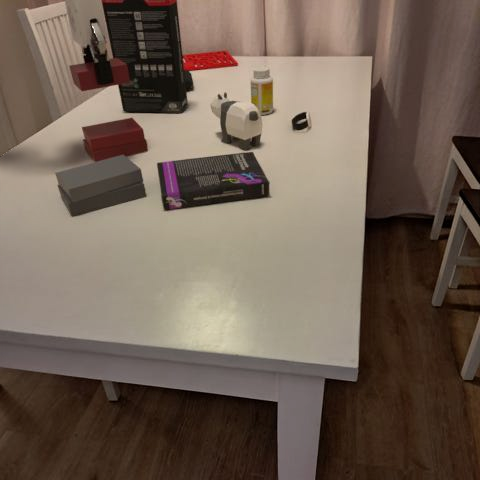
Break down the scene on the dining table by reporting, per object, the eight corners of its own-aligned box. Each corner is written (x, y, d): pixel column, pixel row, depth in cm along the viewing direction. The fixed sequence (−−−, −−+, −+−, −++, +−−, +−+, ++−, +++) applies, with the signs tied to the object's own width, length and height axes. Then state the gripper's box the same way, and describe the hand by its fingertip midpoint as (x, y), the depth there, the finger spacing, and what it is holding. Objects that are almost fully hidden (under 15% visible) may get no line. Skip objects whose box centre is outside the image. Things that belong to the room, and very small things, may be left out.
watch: (309, 133, 108) (310, 116, 105) (289, 132, 108) (289, 116, 106) (312, 121, 113) (313, 106, 111) (293, 121, 114) (293, 105, 112)
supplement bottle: (275, 109, 122) (275, 66, 115) (269, 116, 118) (269, 71, 111) (255, 108, 123) (254, 65, 116) (248, 115, 119) (247, 71, 112)
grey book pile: (72, 216, 82) (63, 190, 79) (60, 196, 89) (52, 171, 86) (147, 196, 87) (142, 170, 84) (131, 178, 94) (126, 153, 90)
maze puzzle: (237, 65, 158) (237, 62, 157) (179, 71, 155) (179, 69, 155) (226, 52, 173) (226, 50, 172) (173, 58, 170) (172, 56, 169)
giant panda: (265, 145, 103) (265, 99, 97) (247, 152, 101) (245, 106, 94) (223, 130, 112) (220, 87, 106) (205, 136, 109) (201, 92, 103)
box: (163, 213, 83) (270, 197, 85) (160, 195, 81) (270, 179, 82) (159, 179, 93) (254, 165, 95) (156, 162, 91) (254, 148, 92)
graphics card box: (190, 106, 127) (176, -17, 109) (183, 114, 122) (168, -13, 104) (131, 105, 130) (108, -14, 112) (122, 113, 125) (96, -10, 107)
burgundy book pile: (96, 163, 100) (90, 140, 97) (85, 149, 106) (79, 127, 103) (149, 151, 104) (145, 128, 101) (135, 138, 110) (131, 116, 107)
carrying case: (158, 81, 147) (158, 94, 136) (156, 70, 145) (156, 83, 134) (191, 78, 148) (194, 91, 137) (190, 67, 146) (193, 80, 135)
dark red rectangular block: (81, 91, 92) (77, 72, 90) (73, 83, 96) (68, 65, 94) (130, 82, 95) (126, 64, 93) (120, 75, 100) (116, 57, 98)
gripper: (46, -29, 88) (72, 74, 100) (66, -23, 76) (94, 93, 88) (85, -33, 91) (106, 68, 102) (110, -28, 79) (131, 85, 91)
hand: (100, 78), depth 95 cm, fingers closed on dark red rectangular block, 7 cm apart
